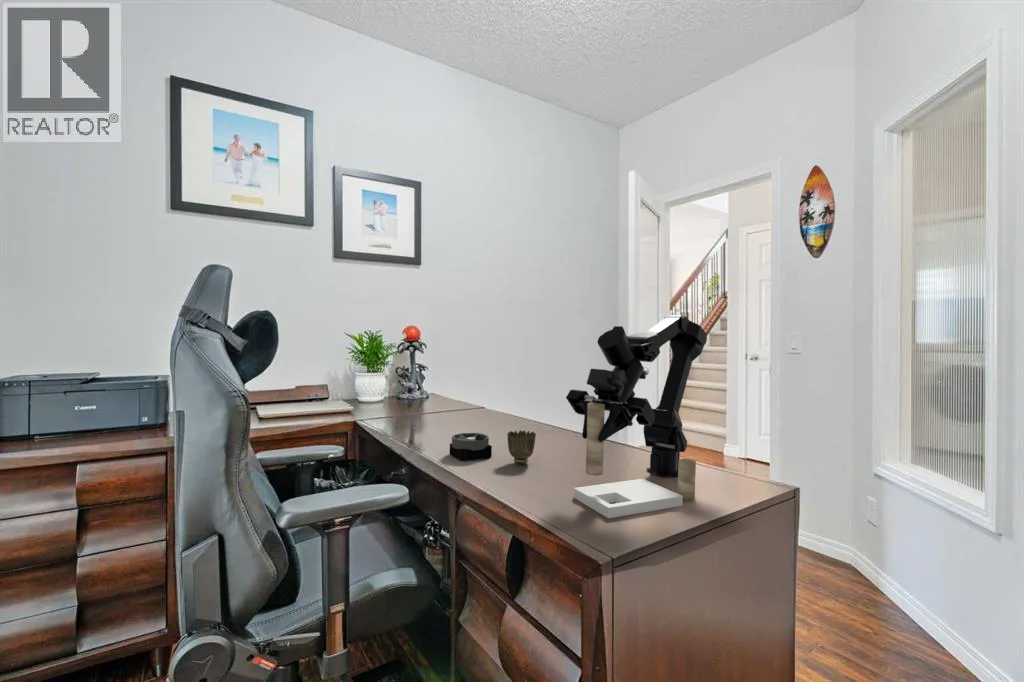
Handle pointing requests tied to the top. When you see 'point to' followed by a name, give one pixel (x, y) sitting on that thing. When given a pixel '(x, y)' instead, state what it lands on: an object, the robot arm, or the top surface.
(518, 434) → the cup
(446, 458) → the top surface
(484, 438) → the cpu cooler
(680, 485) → the short pin
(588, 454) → the long pin
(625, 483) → the hole plate
